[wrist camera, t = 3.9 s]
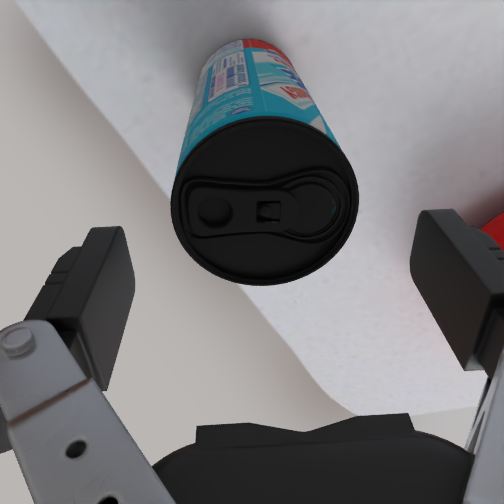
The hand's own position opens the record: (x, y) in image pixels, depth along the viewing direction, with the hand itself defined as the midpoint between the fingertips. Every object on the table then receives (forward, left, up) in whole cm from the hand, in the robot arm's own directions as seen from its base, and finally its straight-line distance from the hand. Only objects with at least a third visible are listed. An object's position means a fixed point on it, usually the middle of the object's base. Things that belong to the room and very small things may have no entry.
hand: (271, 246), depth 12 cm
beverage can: (0, 0, -17) cm, 17 cm away
